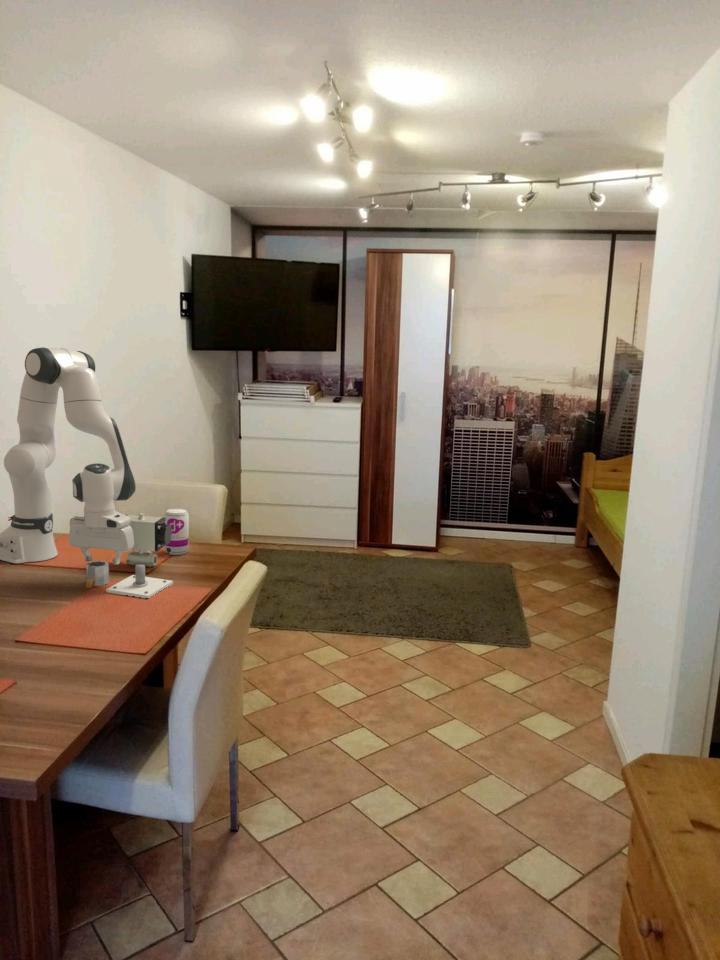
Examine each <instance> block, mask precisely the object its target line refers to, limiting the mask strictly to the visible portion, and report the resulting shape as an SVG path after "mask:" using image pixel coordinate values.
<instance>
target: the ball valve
mask: <svg viewBox="0 0 720 960" xmlns="http://www.w3.org/2000/svg"><path fill="white" fill-rule="evenodd" d="M125 515H126V516H128V517H130V518H131V523H130V524H128V525H130V526H131V528H132V530H133V536H134V547H133V548H132V549H131V550H132V551H128V552H127V554H126V556H125V562H126V564H127V565H130V566H134V567H135V566H136V565H139V564H142V565H145V567H146V566H147V567H149V568H151V567H154V566H156V565H157V563H158V555H157V554H156V553H154V552H159V551H161V549H163V548H165V545H168V544H169V543H170V540H171V536H172V529H171V526H170V525H169V524H167V522H166V518H165V517H163V516H151V515H145V514H144V512H140V513H138V515H135V514H125Z"/></svg>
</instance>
